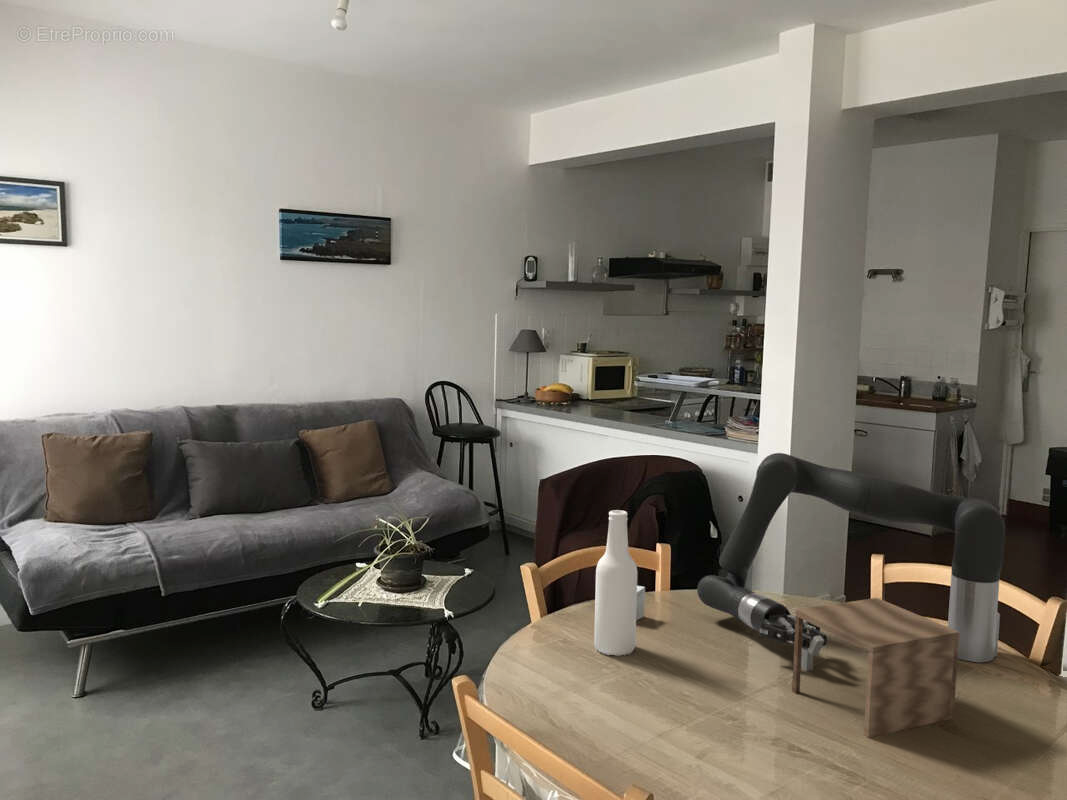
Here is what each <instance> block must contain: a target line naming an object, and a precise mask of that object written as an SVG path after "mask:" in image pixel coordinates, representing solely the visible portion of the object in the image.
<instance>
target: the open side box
mask: <svg viewBox="0 0 1067 800" xmlns="http://www.w3.org/2000/svg"><path fill="white" fill-rule="evenodd" d="M795 617H796V621H795V641H794V643H793V644H794V645H793V665H792V666H793V667H792V683H791V684H792V685H791V687H792V688H791V692H792V693H794V694H799V693H801V692H800V691H801V672H802V671H801V670H802V668H801V655H802V635H803V620H805V621H807V622H809V623H811V624H813V625H815V626H817V627H819V628H820V630H821V629H822V630H823V631H826V632H828V633H830V634H832V635H834V636H835V637H837V638H840V639H841V640H844V641H846V642H848V643H849V644H852V645H854V646H856V647H858V648H860V649H862V650H865V651H866V652H868V655H867V657H868V658H867V674H866V690H865V706H864V707H865V709H864V723H863V724H864V725H863V726H864V727H863V736H864V737H865V738H873V737H877V736H882V735H886V734H890V733H895V732H899V731H905V730H909V729H913V728H919V727H921V726H926V725H931V724H934V723H939V722H944V721H948V720H953V719H954V718H955V716H954V715H955V702H956V701H955V700H956V690H957V688H956V686H957V673H958V661H959V660H958V647H959V632H958V631H956V630H953V629H951V628H949V627H948V626H946V625H944V624H941V623H939V622H936V621H934V620H931V619H929V618H927V617H924V616H922V615H919V614H917V613H914V612H912V611H910V610H907V609H905V608H902V607H900V606H898V605H895V604H892V603H890V602H888V601H886V600H883V599H882V598H879V597H874V598H873V597H872V598H867V599H860V600H853V601H852V600H851V601H846V602H841V603H840V602H839V603H832V604H831V603H830V604H826V605H820V606H813V607H811V606H810V607H806V608H805V607H804V608H798V609H796V610H795Z"/></svg>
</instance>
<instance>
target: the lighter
mask: <svg viewBox="0 0 1067 800" xmlns="http://www.w3.org/2000/svg"><path fill="white" fill-rule="evenodd" d="M823 643H824V639H823V638H822V637H821V636H814V638H813V640H811V641H810V648H804V647H802V655H801V670H803V671H805V672H811V671H813V670H814V656H818V655H819V654H820V652H821V649H822V647H823V646H822V645H823Z"/></svg>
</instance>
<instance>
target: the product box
mask: <svg viewBox="0 0 1067 800" xmlns="http://www.w3.org/2000/svg"><path fill="white" fill-rule="evenodd" d="M645 594H646V587H645V586H643V585H642V586H641V585H637V606H636V620H638V619H640V618H641V619H643V618H644V617H645V602H646V601H645V598H646V595H645ZM643 616H644V617H643ZM642 617H643V618H642ZM641 619H640V620H641ZM638 621H639V620H638Z"/></svg>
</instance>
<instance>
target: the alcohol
mask: <svg viewBox="0 0 1067 800" xmlns="http://www.w3.org/2000/svg"><path fill="white" fill-rule="evenodd" d="M628 514H629V513H628V512H627V511H625V510H621V509H620V510H619V509H615V510H613V509H612V510H609V512H608V516H609V517H608V528H607V529H608V530H607V539H606V547H605V552H604V554H603V555H602V557H601V558H599V560H598V561H597V565H596V569H595V594H594V595H595V599H594V601H595V602H594V632H593V633H594V637H593V640H594V641H593V643H594V647H595V649H596V651H597V650H598V651H599V653H600V652H601V653H600V654H602V653H603V654H602V655H605V654H606V656H609V655H615V656H614V657H621V655H624V656H627V655H626V654H628V655H630V654H632V653H633V651H634V649H636V637H637V635H636V634H637V633H636V632H637V621H636V606H637V586H638V574H639V573H638V568H637V563H636V561H635V560H634V559H633V558H632V556H631V555H630V552H629V551H630V550H629V540H628V539H629V537H628V520H629V518H628ZM598 651H597V652H598Z"/></svg>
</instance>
